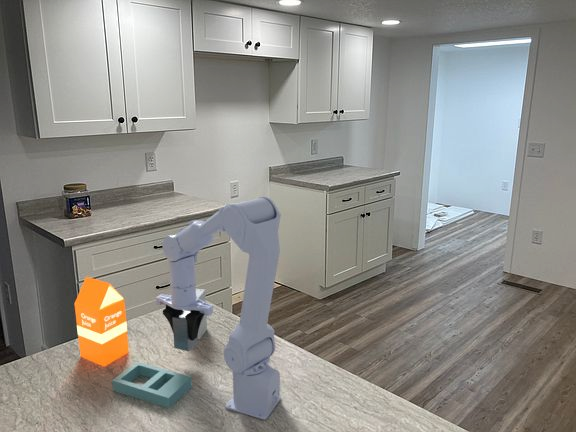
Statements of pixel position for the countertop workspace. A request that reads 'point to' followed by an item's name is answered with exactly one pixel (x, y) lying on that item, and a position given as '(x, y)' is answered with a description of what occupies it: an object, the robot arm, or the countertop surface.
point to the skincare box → (203, 325)
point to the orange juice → (101, 322)
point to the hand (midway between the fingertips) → (185, 336)
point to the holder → (153, 384)
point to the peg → (182, 332)
